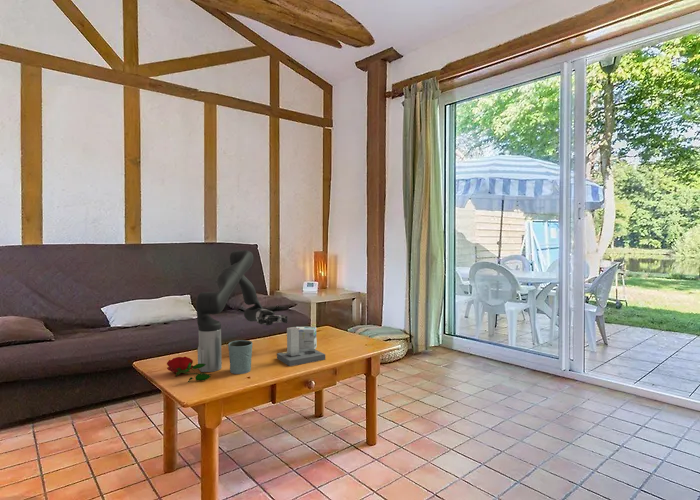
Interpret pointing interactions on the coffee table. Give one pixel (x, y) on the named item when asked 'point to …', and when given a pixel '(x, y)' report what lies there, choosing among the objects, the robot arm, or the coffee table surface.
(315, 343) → the light bulb box
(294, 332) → the square bit
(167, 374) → the coffee table surface
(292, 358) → the socket board
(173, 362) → the flower
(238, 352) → the green embossed pot
